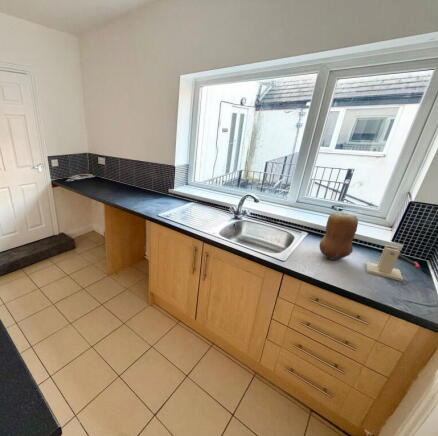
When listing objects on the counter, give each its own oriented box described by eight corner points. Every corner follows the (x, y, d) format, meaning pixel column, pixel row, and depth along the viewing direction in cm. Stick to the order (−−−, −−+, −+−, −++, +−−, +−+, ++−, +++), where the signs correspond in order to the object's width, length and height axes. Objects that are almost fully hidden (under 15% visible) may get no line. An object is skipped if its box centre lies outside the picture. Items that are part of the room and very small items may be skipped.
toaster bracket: (398, 271, 116) (408, 247, 111) (402, 281, 108) (413, 256, 104) (365, 263, 122) (374, 240, 118) (367, 272, 115) (376, 248, 110)
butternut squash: (323, 248, 136) (337, 207, 126) (352, 259, 125) (369, 215, 116) (311, 256, 129) (324, 212, 119) (340, 268, 119) (357, 221, 109)
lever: (414, 265, 110) (419, 262, 109) (417, 270, 106) (422, 266, 105) (385, 249, 115) (389, 245, 113) (386, 253, 111) (391, 249, 110)
